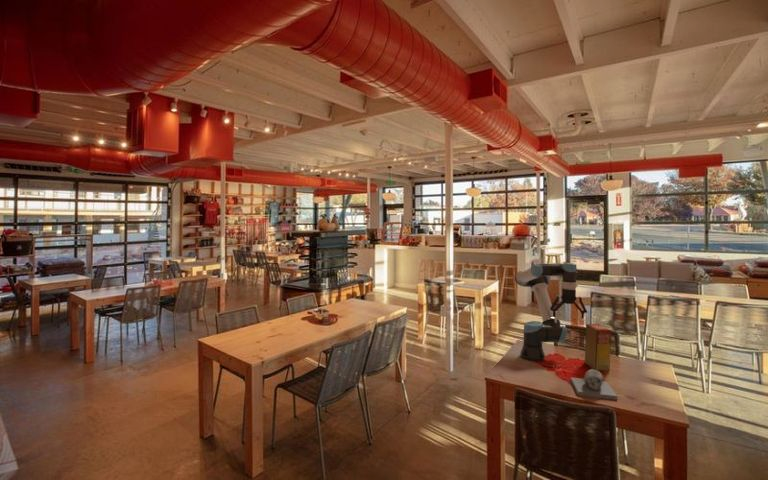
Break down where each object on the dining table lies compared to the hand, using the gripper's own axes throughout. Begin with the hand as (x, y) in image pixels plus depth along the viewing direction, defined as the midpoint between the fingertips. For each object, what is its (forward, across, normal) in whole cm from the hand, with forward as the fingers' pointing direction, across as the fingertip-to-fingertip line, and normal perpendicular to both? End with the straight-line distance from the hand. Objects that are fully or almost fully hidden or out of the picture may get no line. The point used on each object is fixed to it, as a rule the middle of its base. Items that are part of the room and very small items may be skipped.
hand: (567, 322), depth 226 cm
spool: (+26, +8, -27) cm, 39 cm away
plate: (+28, +8, -27) cm, 40 cm away
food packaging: (+29, +19, +9) cm, 36 cm away
